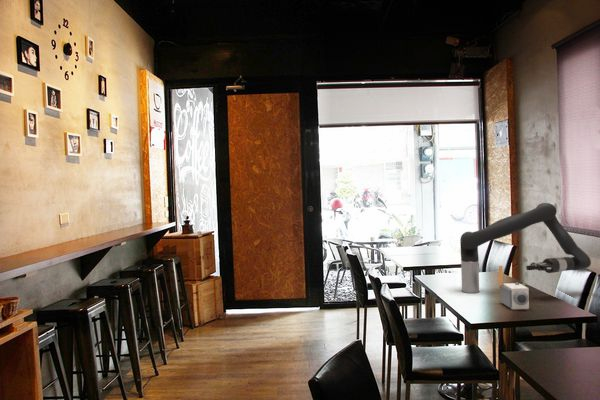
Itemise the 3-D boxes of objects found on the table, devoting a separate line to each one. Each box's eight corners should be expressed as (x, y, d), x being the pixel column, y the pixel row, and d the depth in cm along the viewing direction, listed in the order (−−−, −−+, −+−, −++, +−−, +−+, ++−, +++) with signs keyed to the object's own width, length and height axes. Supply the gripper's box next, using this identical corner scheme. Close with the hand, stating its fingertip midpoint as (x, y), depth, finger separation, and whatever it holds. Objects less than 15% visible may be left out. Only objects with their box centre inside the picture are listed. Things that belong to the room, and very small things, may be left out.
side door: (499, 301, 252) (498, 265, 251) (501, 301, 252) (501, 265, 251) (509, 307, 239) (508, 270, 238) (511, 307, 239) (510, 270, 238)
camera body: (502, 303, 251) (502, 281, 251) (519, 302, 251) (518, 281, 251) (513, 310, 237) (513, 287, 237) (530, 310, 237) (530, 287, 237)
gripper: (544, 256, 265) (517, 258, 260) (564, 259, 253) (536, 262, 247) (545, 270, 265) (518, 273, 260) (565, 274, 253) (537, 277, 248)
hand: (527, 268), depth 254 cm, fingers closed
